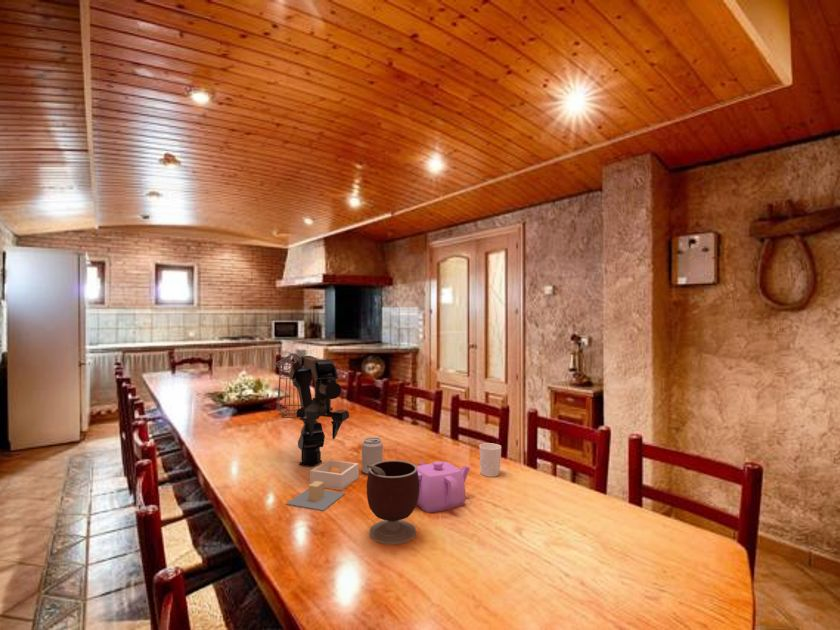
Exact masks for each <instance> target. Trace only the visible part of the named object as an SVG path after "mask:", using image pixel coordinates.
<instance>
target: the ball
mask: <svg viewBox="0 0 840 630" xmlns="http://www.w3.org/2000/svg"><path fill="white" fill-rule="evenodd" d="M329 472H332V473H339V474H341V471H340V469H339V468H337V467H334V468H332V469H331V470H330V471H329Z"/></svg>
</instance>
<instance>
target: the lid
mask: <svg viewBox="0 0 840 630" xmlns="http://www.w3.org/2000/svg"><path fill="white" fill-rule="evenodd" d="M345 495H346V493H345V492H339V491H333V490H328V489H327V490H326V489H325V488H324V482H320V481H315V482H313V483H312V484H310V483H309V485H308V488H307V489H305V490H304V491H303V492H301V493H300V494H298V495H297V496H296V497H294V498H292V499H290V500H288V502H286V503H285V505H286V506H290V507H295V508H303V509H307V510H314V511H321V512H325V511H326V510H328V509H329V508H330V507H331V506H332V505H334V504H335V503H336V502H338V501H339V500H340V499H342V497H344V496H345Z"/></svg>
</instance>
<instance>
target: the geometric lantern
mask: <svg viewBox="0 0 840 630" xmlns="http://www.w3.org/2000/svg"><path fill="white" fill-rule="evenodd" d="M300 357H301V356H299V355H297V354H295V353H290V354H289V355H287V356H285V357H283V358H282V359H280V360H278V361H277V362H274V365H275V366H276V368H278V369H279V378H278V379H279V380H278V391H277V398H276V399H277V400H276V410H277V411H279V412H280V413H281V414H282V416H281V417H282V418H285V417H286V418H289V419H291V418H292V419H296V418H297V419H298V417H296V412H297V410H298V409H300V407H301V404H300V398H299V392H298V389H297V388H296V394H297V395H296V396H297V404H295V386H294V385H293V384H292V385H293V388H292V389H293V395H292V397H293V398H292V401H293V403H292V404H291V381H292V379H291V378H290V374H289V375H288V374H287V373H286V372H289V373H290V371H291V368H292V366H293V365H294V364H295V363H296V362H297V361H298V360H299V358H300ZM291 358H292V359H293V361H291ZM286 363H287V364H286ZM285 366H286V367H287V369H284V367H285ZM289 367H290V368H289ZM302 367H304V366H302ZM283 373H284V374H285V376H282V374H283ZM288 377H289V378H288ZM282 379H283V380H285V381H286V382H285V391H284V392H285V393H284V405H282V406H280V405H281V404H280V403H281V400H280V399H281V381H282ZM288 380H289V391H288V392H289V393H288V404H286V402H287V388H288ZM292 406H293V409H289V408H290V407H292ZM283 407H284V408H285V409H284V408H283ZM287 407H288V408H287ZM295 407H297V409H295ZM286 415H294V417H293V416H286Z"/></svg>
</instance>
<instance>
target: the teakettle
mask: <svg viewBox="0 0 840 630" xmlns="http://www.w3.org/2000/svg"><path fill="white" fill-rule="evenodd" d="M416 466H417V472H418V477H419V496H418V502H417V506H418V507H419V508H420V509H422V510H423V511H425V512H426V513H437V512H442V511H447V510H451V509H454V508H459V507H461V506H463V505H464V504H465V501H466V486H465V483H466V480H467V477H468V475H469V472H470V470H471V468H470V467H469V466H467V465H466V466H465V465H463V466H462V467H461V469H460V468H458V467H457V466H455V465H453V464H451V463H449V462H447V461H442V460H441V461H440V460H437V461H433V462H432V463H427V464H426V462H418V465H416Z"/></svg>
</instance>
